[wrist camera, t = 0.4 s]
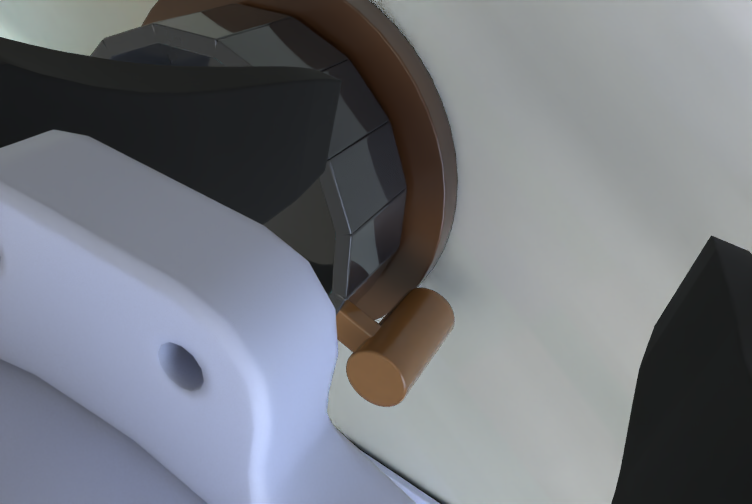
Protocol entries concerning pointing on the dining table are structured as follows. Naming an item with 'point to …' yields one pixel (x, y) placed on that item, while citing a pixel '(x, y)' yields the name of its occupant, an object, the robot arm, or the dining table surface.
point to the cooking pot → (323, 187)
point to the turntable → (405, 112)
